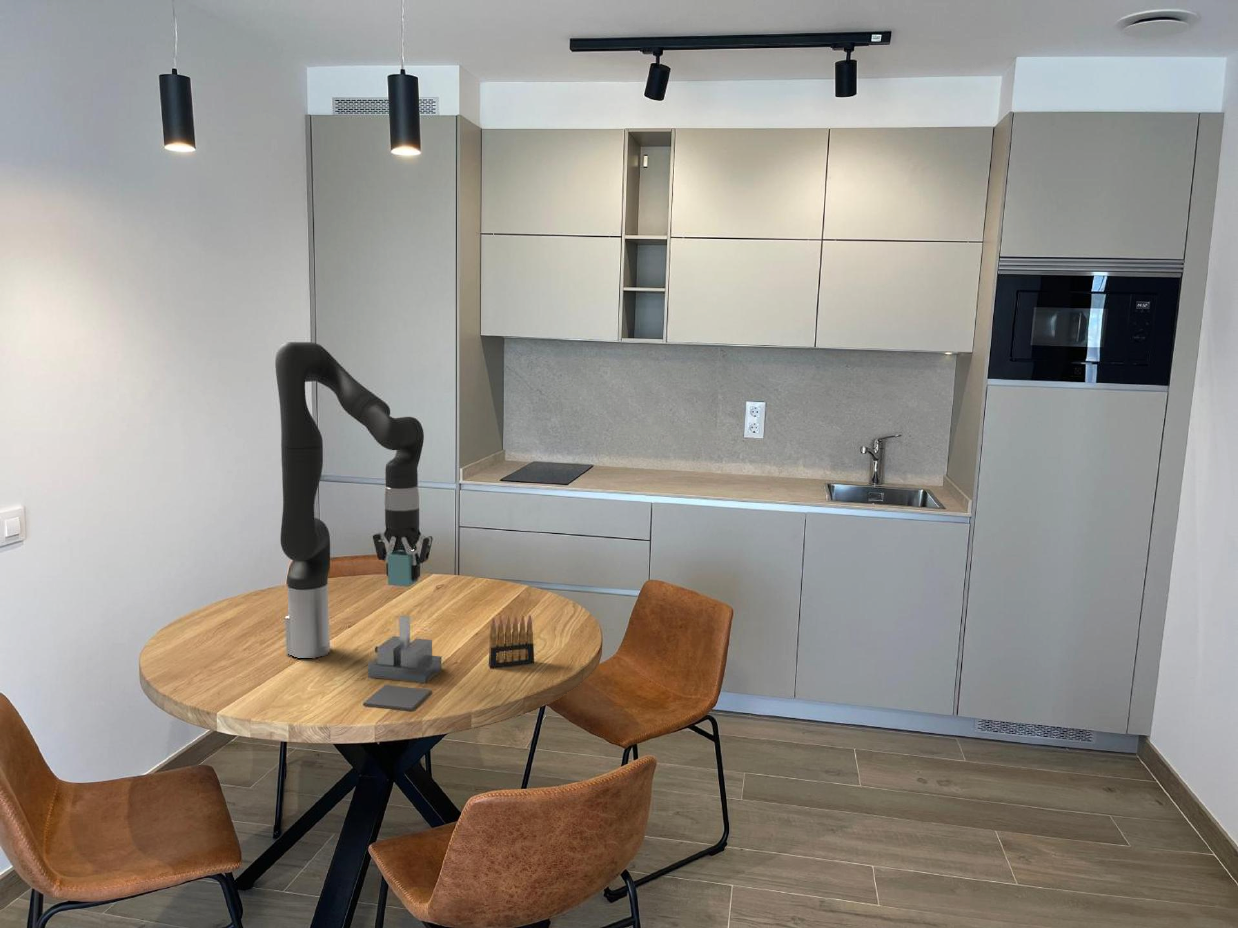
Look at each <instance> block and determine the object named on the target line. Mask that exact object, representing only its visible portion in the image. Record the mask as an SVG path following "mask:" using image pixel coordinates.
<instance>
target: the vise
mask: <svg viewBox="0 0 1238 928" xmlns="http://www.w3.org/2000/svg"><path fill="white" fill-rule="evenodd" d="M410 621H411V619H410V615H405V614H402V615H400V616H399V617H398V632H399V633H398V636H394V635H393V636H392V637H389V639H387V640H385V641H384V642H383V643H382V644H380V645H378V646H377V645H376V646H375V647H374V653H376V658H375V659H374V660H372V661H371V662H369V663H368V664H367V675H368V676H367V677H368V678H371V679H373V678H374V679H380V680H381V679H383V680H393V681H401V682H411V683H412V682H413V683H420V684H421V683H423V684H426V683H428V681H430V680H431V679H432V678H433V677H434V676H435V675H437V674H438V672H439V671H441V670H442V667H443V665H442V664H443V663H442V661H443V660H442V656H440V655H433V640H432V639H427V638H417V637H416V638H414V639H413V640H411V622H410Z"/></svg>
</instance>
